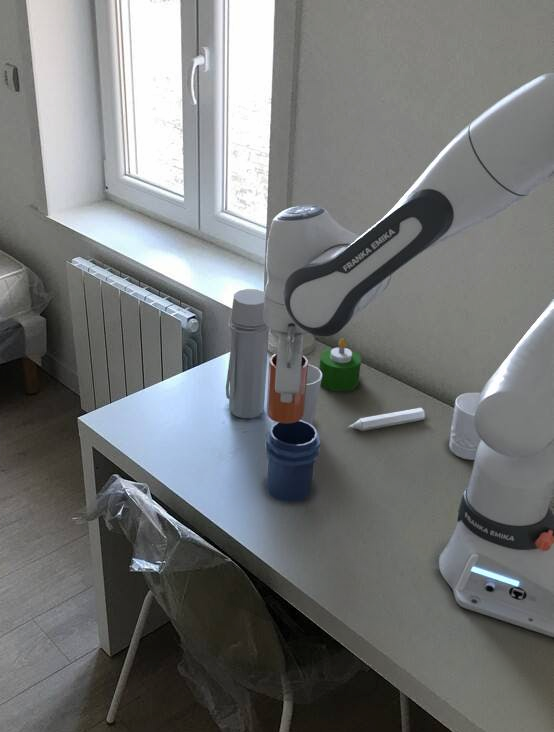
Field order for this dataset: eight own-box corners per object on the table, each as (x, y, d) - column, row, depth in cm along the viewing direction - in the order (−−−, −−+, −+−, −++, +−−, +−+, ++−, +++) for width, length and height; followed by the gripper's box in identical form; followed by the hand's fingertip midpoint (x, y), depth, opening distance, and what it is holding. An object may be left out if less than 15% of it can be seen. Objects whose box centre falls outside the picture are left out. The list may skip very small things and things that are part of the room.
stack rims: (328, 446, 145) (330, 434, 144) (300, 473, 139) (301, 460, 138) (284, 429, 150) (285, 417, 148) (255, 453, 144) (256, 441, 143)
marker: (345, 434, 164) (419, 419, 167) (349, 435, 162) (425, 420, 165) (343, 421, 163) (417, 406, 167) (347, 421, 161) (423, 406, 164)
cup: (315, 440, 161) (321, 386, 154) (273, 436, 162) (277, 383, 155) (317, 417, 167) (323, 364, 160) (276, 413, 169) (280, 361, 162)
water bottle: (245, 396, 174) (251, 284, 160) (273, 412, 169) (281, 297, 155) (212, 412, 170) (214, 298, 155) (239, 429, 164) (245, 313, 150)
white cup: (464, 432, 162) (474, 387, 156) (499, 452, 156) (511, 406, 151) (436, 446, 158) (446, 401, 152) (471, 467, 153) (482, 421, 147)
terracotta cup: (310, 411, 141) (315, 358, 135) (290, 427, 137) (295, 374, 131) (279, 399, 144) (282, 347, 138) (259, 415, 140) (262, 362, 135)
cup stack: (319, 485, 150) (326, 429, 143) (296, 508, 145) (301, 451, 138) (281, 469, 154) (286, 414, 147) (257, 490, 149) (261, 434, 142)
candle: (337, 366, 183) (342, 325, 177) (366, 382, 177) (372, 340, 172) (309, 379, 179) (313, 337, 173) (338, 395, 173) (343, 352, 168)
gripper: (312, 344, 121) (305, 424, 129) (314, 283, 138) (307, 358, 146) (268, 342, 122) (263, 421, 130) (274, 282, 139) (270, 356, 146)
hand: (287, 387), depth 138 cm, fingers closed on terracotta cup, 6 cm apart
